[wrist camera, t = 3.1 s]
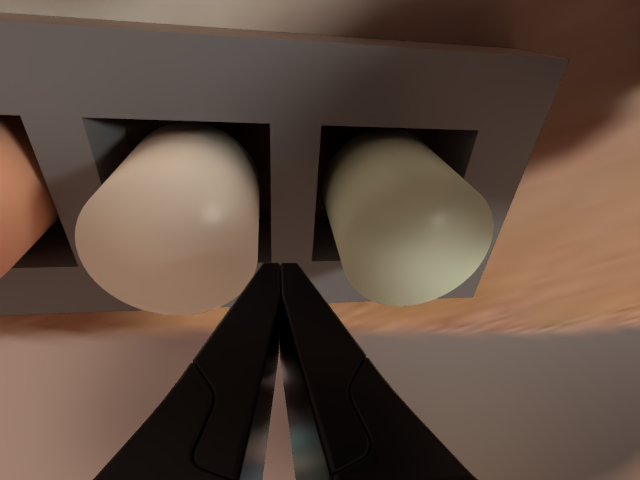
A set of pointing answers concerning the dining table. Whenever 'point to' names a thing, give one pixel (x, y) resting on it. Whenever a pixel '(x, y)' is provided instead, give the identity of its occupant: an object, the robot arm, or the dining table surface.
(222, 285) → the beige domed piece
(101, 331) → the dining table surface
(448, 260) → the pale green egg
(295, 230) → the egg tray
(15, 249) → the orange rounded dome
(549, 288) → the dining table surface
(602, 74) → the dining table surface
